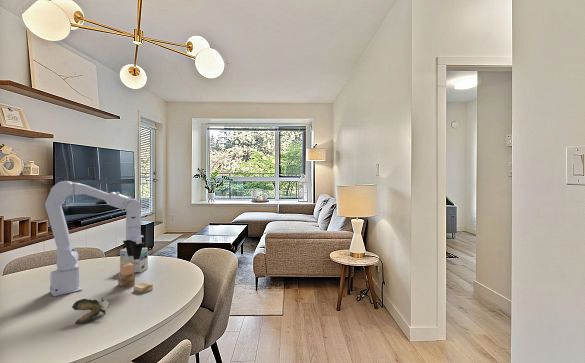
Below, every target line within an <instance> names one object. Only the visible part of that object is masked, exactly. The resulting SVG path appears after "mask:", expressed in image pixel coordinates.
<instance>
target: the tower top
mask: <svg viewBox="0 0 585 363" xmlns="http://www.w3.org/2000/svg"><path fill="white" fill-rule="evenodd" d="M135 276H136V275H135V273H134V274H130V275H126V276H123V275H121V274H120V273H118V277H117V278H118V279H117V280H119V281H120V282H121V283H123V282H127V281H132V280H136V279H135V278H136V277H135Z"/></svg>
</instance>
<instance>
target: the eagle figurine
mask: <svg viewBox="0 0 585 363" xmlns="http://www.w3.org/2000/svg"><path fill="white" fill-rule="evenodd" d="M100 301H101V303H100ZM100 301H99V300H97V299H88V298H81V299H79V300H76V301H75V302H74V303H73V304H72V306H71V308H72V309H73V310H74V311H89V312H87V313H85V314H84V315H82V316H81V317H80V318H79V319H76V320H75V322H74V325H81V324H82V325H83V324H85V323H87V322H89V321H90V320H91V319H93V318H96V317H97V316H99V314H100V312H101V313H103V314H104V315H106V314H107V313H106V312H107V311H106V310H107V309H108V308H109V305H110V303H109V301H108V300H105V299H104V298H103V297H101V298H100Z"/></svg>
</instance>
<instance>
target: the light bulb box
mask: <svg viewBox="0 0 585 363" xmlns="http://www.w3.org/2000/svg"><path fill="white" fill-rule="evenodd" d="M148 249H149V248H148V247H143V248H142V251H141V255H140V259H137V260H134V258H133V256H128V254H127V250H126V247H125V248H123V249H120V250H119V265H120V264H125V263H132V264H133V269H134V273H136V272H140V273H142V272H145V271H146V270H148V269H149V263H148V262H149V261H148V260H149V258H148V257H149V255H148V254H149V252H148Z"/></svg>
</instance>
